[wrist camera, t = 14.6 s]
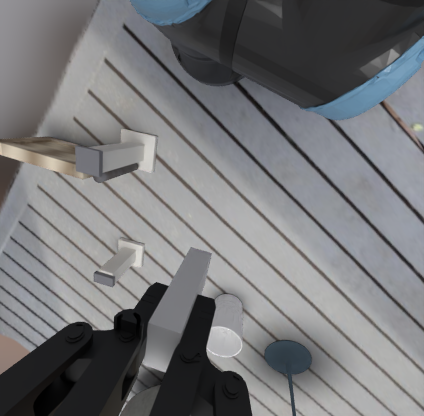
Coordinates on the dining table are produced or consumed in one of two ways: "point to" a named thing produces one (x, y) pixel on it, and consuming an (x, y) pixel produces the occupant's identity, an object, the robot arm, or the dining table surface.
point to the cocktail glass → (288, 361)
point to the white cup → (226, 327)
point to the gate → (53, 156)
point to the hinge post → (118, 154)
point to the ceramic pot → (141, 403)
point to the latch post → (120, 262)
